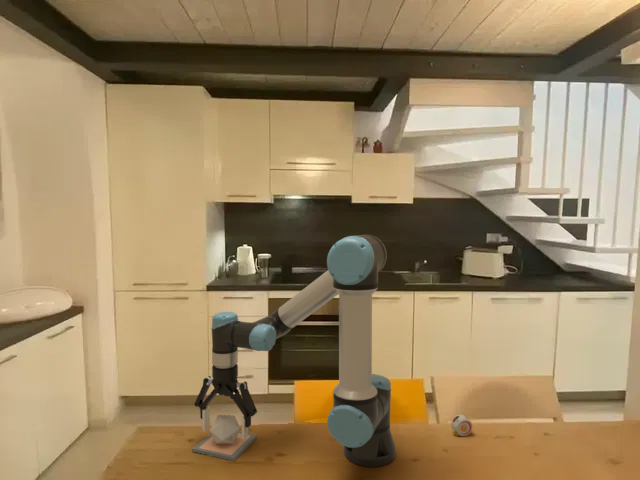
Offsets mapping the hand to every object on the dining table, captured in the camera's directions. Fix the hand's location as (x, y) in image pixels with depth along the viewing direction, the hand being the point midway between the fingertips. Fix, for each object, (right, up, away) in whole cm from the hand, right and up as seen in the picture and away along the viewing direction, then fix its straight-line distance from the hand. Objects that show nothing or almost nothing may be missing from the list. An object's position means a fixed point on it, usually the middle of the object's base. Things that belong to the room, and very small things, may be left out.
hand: (225, 433), depth 139 cm
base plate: (0, -4, 0) cm, 4 cm away
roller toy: (+74, -4, +9) cm, 75 cm away
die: (0, -3, 0) cm, 3 cm away
